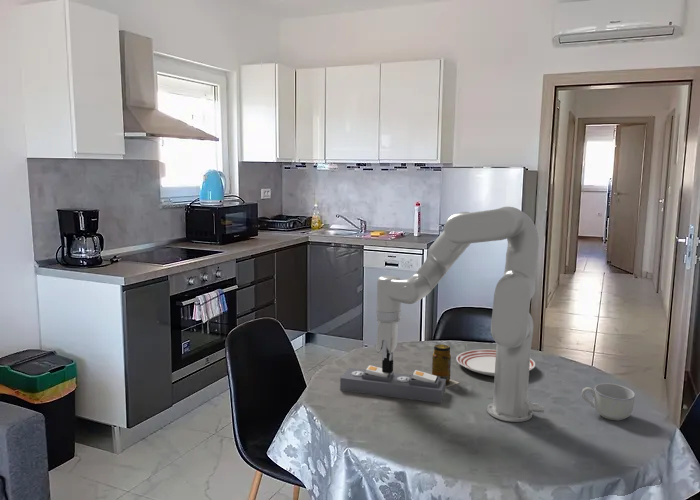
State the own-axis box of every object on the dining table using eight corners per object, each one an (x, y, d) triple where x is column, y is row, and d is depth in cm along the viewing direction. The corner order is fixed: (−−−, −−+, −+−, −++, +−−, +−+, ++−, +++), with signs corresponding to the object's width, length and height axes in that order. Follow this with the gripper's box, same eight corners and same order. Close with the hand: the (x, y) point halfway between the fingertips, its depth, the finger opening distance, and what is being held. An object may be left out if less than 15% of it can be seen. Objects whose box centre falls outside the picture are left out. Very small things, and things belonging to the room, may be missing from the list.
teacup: (634, 413, 169) (636, 387, 168) (630, 427, 160) (633, 400, 159) (583, 403, 176) (585, 378, 175) (577, 416, 167) (579, 389, 166)
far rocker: (389, 373, 186) (390, 369, 186) (386, 378, 182) (387, 374, 181) (368, 368, 188) (369, 364, 187) (365, 373, 183) (366, 369, 183)
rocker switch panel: (445, 391, 184) (445, 375, 183) (441, 403, 175) (441, 386, 174) (349, 379, 193) (349, 364, 192) (340, 390, 184) (340, 374, 183)
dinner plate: (440, 366, 208) (440, 357, 207) (484, 351, 226) (485, 343, 225) (506, 388, 188) (507, 379, 187) (549, 370, 206) (550, 361, 205)
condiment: (440, 376, 198) (441, 342, 196) (459, 383, 191) (461, 348, 190) (425, 380, 193) (426, 345, 192) (444, 388, 187) (446, 352, 185)
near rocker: (436, 379, 182) (437, 375, 181) (434, 384, 177) (435, 380, 177) (414, 373, 183) (415, 369, 183) (412, 378, 179) (412, 374, 179)
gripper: (382, 309, 189) (381, 363, 192) (370, 320, 175) (370, 378, 178) (405, 310, 187) (403, 365, 190) (395, 322, 173) (394, 381, 175)
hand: (387, 371), depth 184 cm, fingers closed
